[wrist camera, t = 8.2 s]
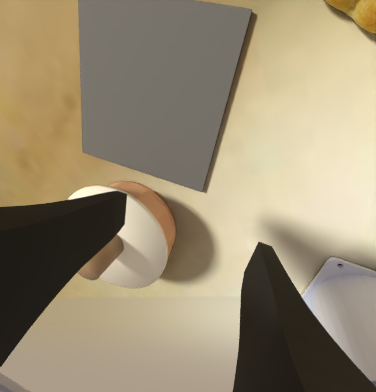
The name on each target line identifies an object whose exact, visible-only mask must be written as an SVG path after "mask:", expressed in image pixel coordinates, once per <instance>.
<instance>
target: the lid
mask: <svg viewBox="0 0 376 392" xmlns="http://www.w3.org/2000/svg"><path fill="white" fill-rule="evenodd" d="M111 191H120V192H123V193H125V194H127V203H126V215H125V225H124V226H123V227H122V229H121V230H120V231H119V232H118V234H117V235H116V236H115V237H114V238H113V239H112V240H111V241H110V242H109V243H108V244H107V245H106V246H105V247H104V248H103V249H101V250H100V251H99V252H98V253H97V254H96V255H95V256H94V257H93V258H92V259H91V260H90V261H88V262H87V263H86V264H85V265H84V266H83V267H82V268H81V269H80V270H79V271H78V272H77V273H78V274H80V275H81V276H82V277H84V278H86V279H89V280H96V279H98V278H99V277H100V278H101V279H103V280H105V281H107V282H109V283H111V284H114V285H116V286H120V287H124V288H142V287H146V286H149V285H151V284H152V283H154V282H155V281H156V280H157V279H158V278H159V277H160V276H161V274H162V272H163V271H164V269H165V267H166V264H167V260H168V245H167V240H166V237H165V234H164V232H163V230H162V227H161V225H160V224H159V222H158V221H157V219H156V218H155V216H154V215H153V214H152V212H151V211H150V210H149V209H148V208H147V207H146V206H145V205H144V204H143V203H141V202H140V201H139V200H138V199H136V198H135V197H134V196H132V195H131V194H129V193H127V192H125V191H123V190H120V189H118V188H115V187H111V186H106V185H92V186H88V187H85V188H82V189H80V190H78V191H77V192H75V193H73V194H72V195H71V196H70V197H69V199H68V200H70V199H76V198H81V197H86V196H91V195H95V194H100V193H105V192H111Z"/></svg>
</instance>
